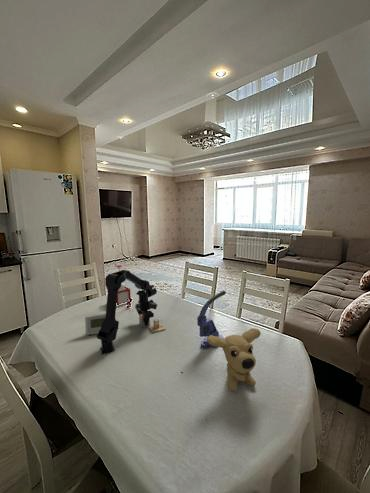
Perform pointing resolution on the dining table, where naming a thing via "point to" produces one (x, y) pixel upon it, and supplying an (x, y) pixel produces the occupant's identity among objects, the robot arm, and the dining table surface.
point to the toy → (238, 356)
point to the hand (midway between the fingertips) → (144, 323)
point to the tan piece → (156, 326)
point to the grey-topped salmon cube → (143, 322)
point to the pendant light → (122, 292)
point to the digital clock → (94, 323)
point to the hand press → (208, 323)
